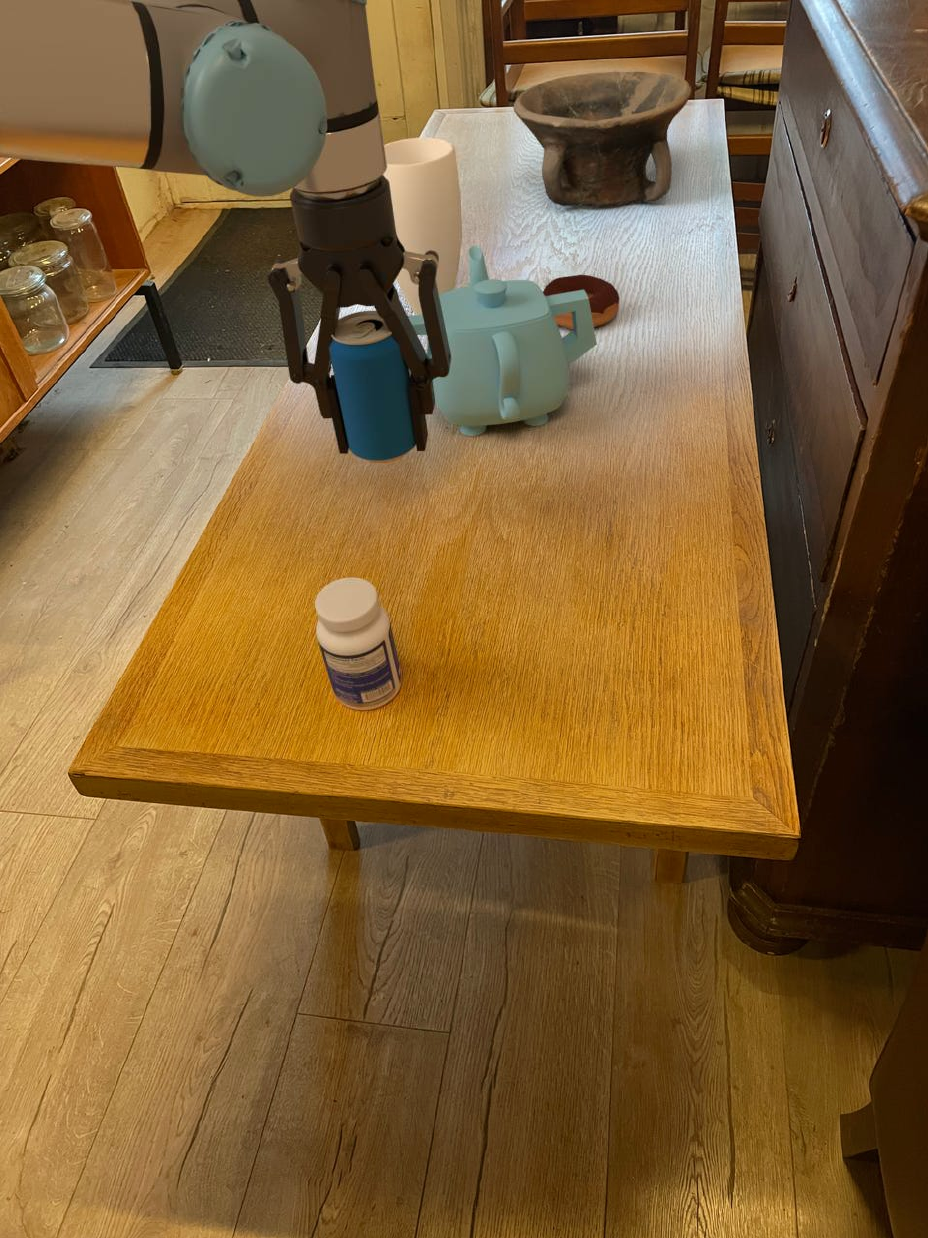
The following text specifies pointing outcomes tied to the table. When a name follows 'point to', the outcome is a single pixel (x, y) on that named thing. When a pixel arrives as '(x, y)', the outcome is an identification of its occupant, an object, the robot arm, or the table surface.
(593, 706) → the table surface
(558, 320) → the donut
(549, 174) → the brown clay pot
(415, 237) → the cup
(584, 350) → the teapot
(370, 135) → the robot arm
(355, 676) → the pill bottle
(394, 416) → the beverage can
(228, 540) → the table surface
